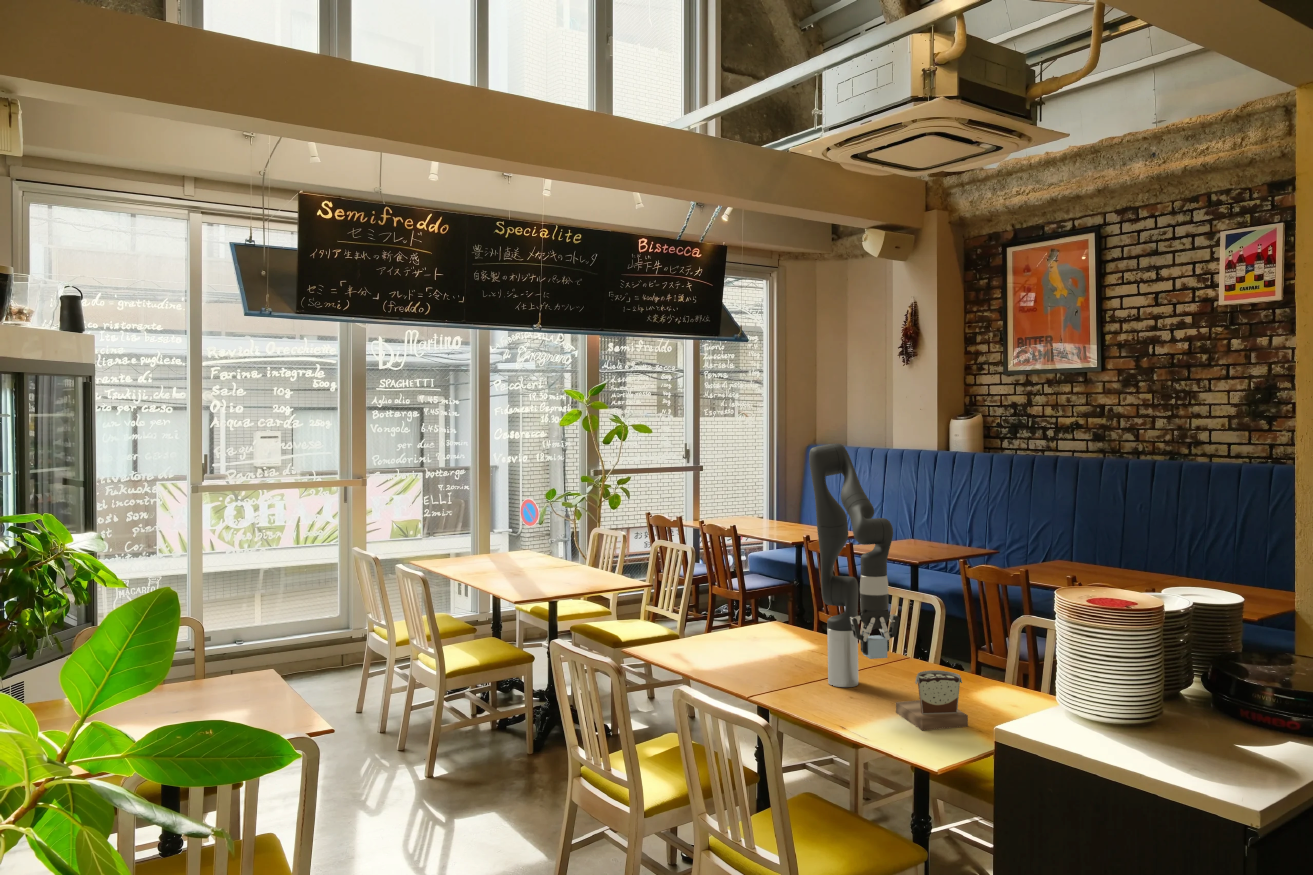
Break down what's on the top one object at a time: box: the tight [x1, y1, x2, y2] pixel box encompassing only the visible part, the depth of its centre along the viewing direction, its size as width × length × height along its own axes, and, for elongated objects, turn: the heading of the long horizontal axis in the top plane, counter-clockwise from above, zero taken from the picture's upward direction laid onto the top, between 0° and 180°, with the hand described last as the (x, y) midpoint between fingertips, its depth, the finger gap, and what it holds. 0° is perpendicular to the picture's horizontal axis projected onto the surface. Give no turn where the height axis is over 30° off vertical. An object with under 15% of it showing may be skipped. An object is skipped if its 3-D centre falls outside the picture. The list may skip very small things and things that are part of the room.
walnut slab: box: [895, 699, 969, 731], centre depth 239 cm, size 15×13×3 cm
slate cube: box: [862, 634, 889, 660], centre depth 242 cm, size 5×5×5 cm
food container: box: [914, 669, 963, 714], centre depth 238 cm, size 12×6×10 cm, turn 93°
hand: (875, 653), depth 242 cm, fingers closed on slate cube, 5 cm apart
